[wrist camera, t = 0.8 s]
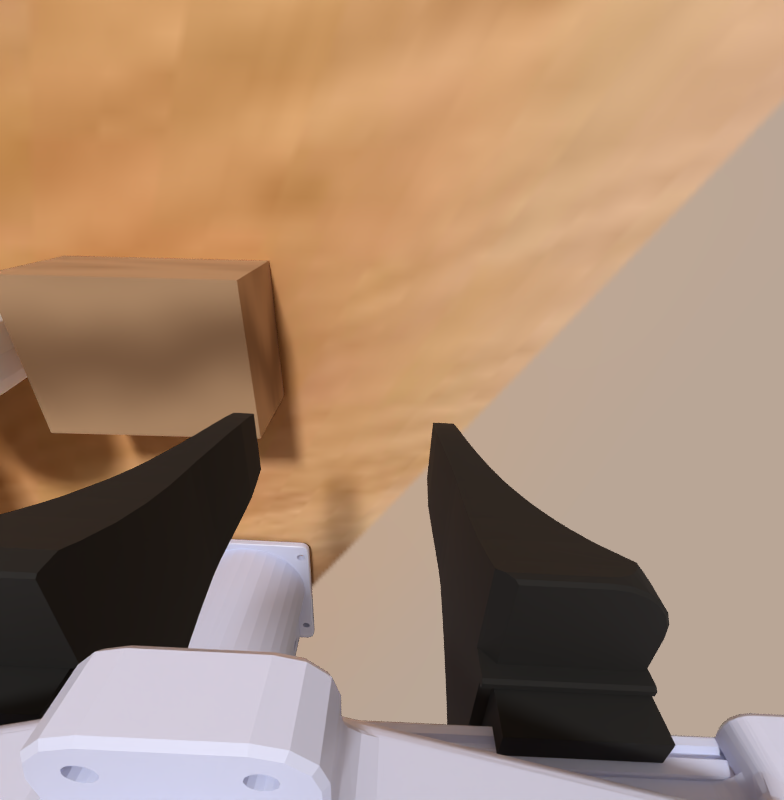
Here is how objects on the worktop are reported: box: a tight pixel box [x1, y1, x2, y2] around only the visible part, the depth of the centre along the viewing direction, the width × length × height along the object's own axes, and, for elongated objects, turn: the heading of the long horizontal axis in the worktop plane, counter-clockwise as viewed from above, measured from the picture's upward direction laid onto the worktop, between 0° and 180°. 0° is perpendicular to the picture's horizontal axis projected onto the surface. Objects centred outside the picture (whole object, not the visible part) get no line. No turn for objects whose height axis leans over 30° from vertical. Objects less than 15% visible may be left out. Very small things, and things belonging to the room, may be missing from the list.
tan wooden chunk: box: [0, 256, 284, 439], centre depth 19 cm, size 7×10×4 cm
